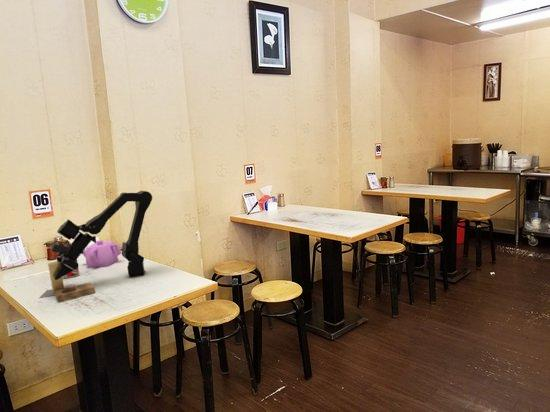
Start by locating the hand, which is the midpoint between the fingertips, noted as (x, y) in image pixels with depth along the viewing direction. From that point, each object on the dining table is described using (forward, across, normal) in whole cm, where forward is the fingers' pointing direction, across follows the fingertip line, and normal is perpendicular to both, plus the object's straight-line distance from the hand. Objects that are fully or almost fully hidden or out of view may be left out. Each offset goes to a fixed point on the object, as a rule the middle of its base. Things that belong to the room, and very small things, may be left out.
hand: (53, 276), depth 173 cm
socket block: (+1, +8, +10) cm, 13 cm away
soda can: (-1, -24, +12) cm, 27 cm away
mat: (+6, -3, +5) cm, 8 cm away
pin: (+5, 0, +6) cm, 7 cm away
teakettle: (-13, -36, +24) cm, 45 cm away
